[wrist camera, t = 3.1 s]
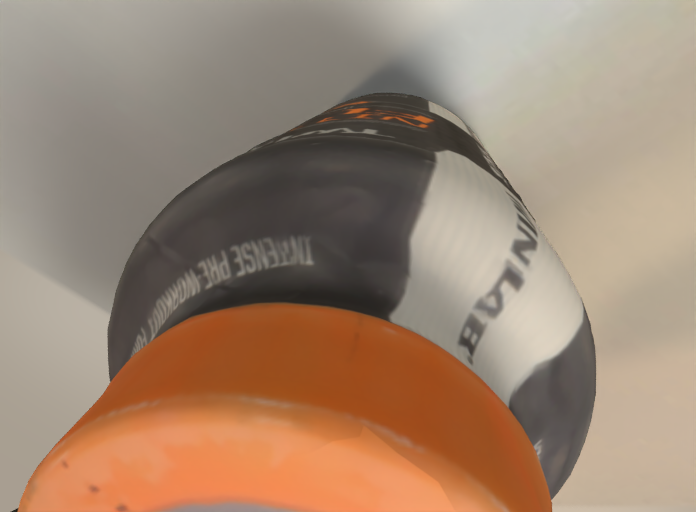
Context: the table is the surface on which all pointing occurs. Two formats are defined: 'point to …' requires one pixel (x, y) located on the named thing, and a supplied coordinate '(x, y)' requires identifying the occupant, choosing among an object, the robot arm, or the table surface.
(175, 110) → the table surface
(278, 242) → the pill bottle
